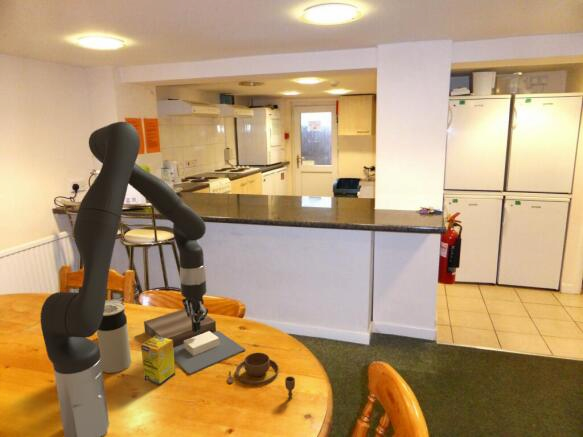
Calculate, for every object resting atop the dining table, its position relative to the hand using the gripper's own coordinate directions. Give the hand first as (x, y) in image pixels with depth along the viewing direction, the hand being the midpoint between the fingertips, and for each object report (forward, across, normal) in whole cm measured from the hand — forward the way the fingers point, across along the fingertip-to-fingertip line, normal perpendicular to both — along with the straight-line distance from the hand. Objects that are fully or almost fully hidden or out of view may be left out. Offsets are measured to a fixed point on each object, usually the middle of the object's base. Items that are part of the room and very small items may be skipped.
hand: (196, 331), depth 129 cm
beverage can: (+5, -24, -17) cm, 30 cm away
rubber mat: (+5, +5, 0) cm, 7 cm away
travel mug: (+5, -6, -23) cm, 24 cm away
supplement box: (+5, +8, -16) cm, 19 cm away
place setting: (+6, +28, +3) cm, 29 cm away
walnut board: (+5, -12, 0) cm, 13 cm away
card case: (+2, +2, 0) cm, 3 cm away
